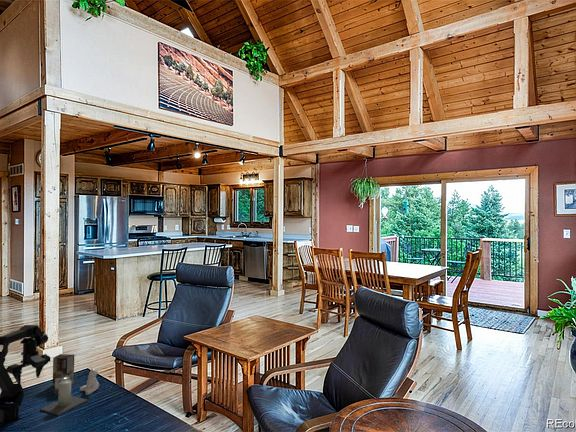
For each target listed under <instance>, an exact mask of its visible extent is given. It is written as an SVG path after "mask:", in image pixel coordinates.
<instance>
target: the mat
mask: <svg viewBox="0 0 576 432" xmlns="http://www.w3.org/2000/svg"><path fill="white" fill-rule="evenodd" d="M87 402H88V399H87V398H83V397H78V396H74V395H71V403H70V404H69V405H68V406H64V407H59V406H58V400H57V401H55V402H53V403H50V404H48V405H46V406H43V407H40V411H41V412H44V413H47V414H52V415H55V416H58V417H59V416H61V415H63V414H65V413H67V412H70V411H72V410H73V409H75V408H77V407H79V406H81V405H83V404H85V403H87Z"/></svg>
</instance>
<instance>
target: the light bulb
mask: <svg viewBox="0 0 576 432" xmlns="http://www.w3.org/2000/svg"><path fill="white" fill-rule="evenodd" d="M57 396H58V397H57V398H58V399H57V401H58V406H59V407H64V406H68V405H69V404H70V403H71V396H72V383H71V381H70V380H65V381H62V382H60V383H59V393H58V395H57Z"/></svg>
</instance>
